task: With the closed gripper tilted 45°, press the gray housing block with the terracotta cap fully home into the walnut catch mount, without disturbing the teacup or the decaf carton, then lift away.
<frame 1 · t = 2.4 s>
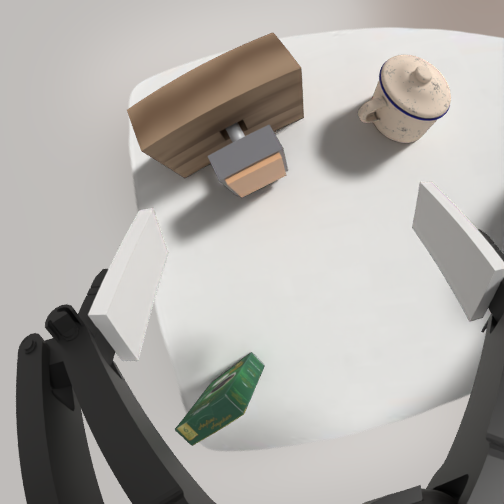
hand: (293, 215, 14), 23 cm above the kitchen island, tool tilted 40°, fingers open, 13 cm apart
catch mount: (234, 129, 39), on the kitchen island
coffee box: (237, 374, 39), on the kitchen island
gray housing block: (243, 147, 33), point 5 cm above the kitchen island, slide at 0.0 cm
teacup with lid: (389, 119, 36), on the kitchen island
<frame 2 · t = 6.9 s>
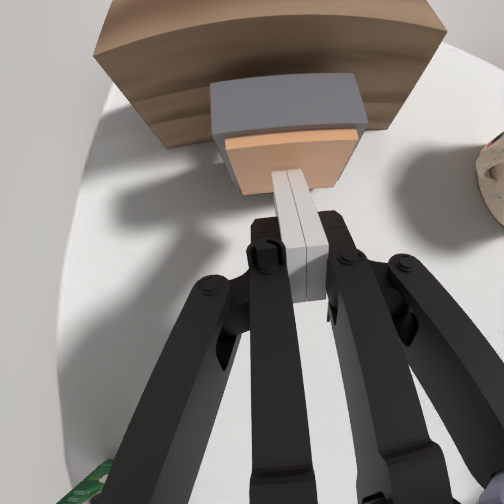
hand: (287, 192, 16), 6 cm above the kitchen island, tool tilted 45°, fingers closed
catch mount: (274, 102, 23), on the kitchen island
coffee box: (144, 467, 20), on the kitchen island
gray housing block: (281, 106, 17), point 5 cm above the kitchen island, slide at 1.4 cm, touching gripper
teacup with lid: (495, 185, 20), on the kitchen island
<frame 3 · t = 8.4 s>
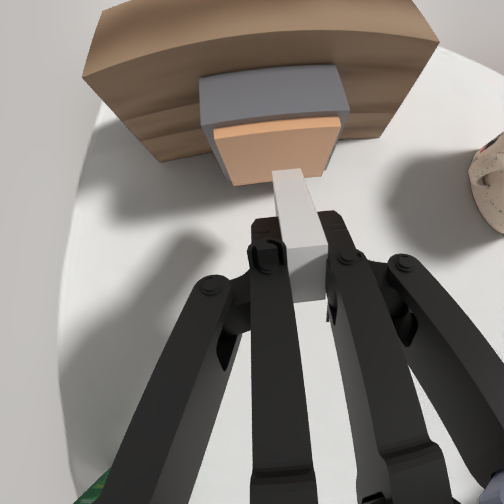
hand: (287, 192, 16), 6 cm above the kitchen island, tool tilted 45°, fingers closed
catch mount: (266, 113, 23), on the kitchen island
coffee box: (147, 474, 20), on the kitchen island
gray housing block: (268, 99, 17), point 6 cm above the kitchen island, slide at 3.1 cm
teacup with lid: (489, 190, 21), on the kitchen island
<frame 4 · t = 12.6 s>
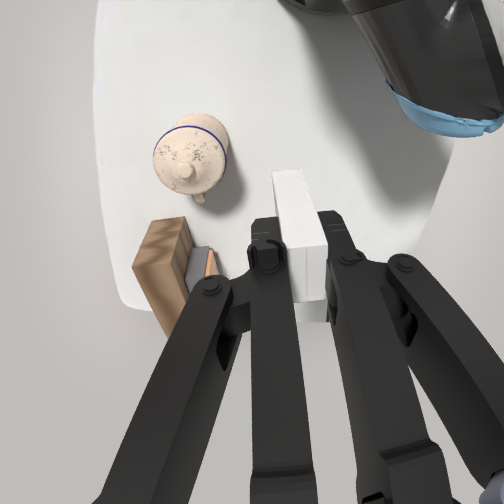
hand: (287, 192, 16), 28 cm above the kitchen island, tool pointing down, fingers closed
catch mount: (181, 259, 55), on the kitchen island
gray housing block: (189, 278, 51), point 6 cm above the kitchen island, slide at 3.1 cm
teacup with lid: (200, 149, 43), on the kitchen island
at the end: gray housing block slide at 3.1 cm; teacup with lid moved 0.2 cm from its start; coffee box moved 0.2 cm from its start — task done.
